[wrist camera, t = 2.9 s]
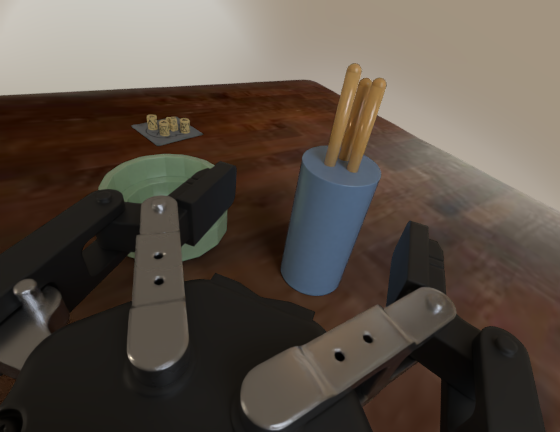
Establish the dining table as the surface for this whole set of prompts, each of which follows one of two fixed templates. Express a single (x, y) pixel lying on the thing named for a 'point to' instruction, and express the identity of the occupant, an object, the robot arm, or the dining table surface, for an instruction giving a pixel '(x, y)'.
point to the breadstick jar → (333, 192)
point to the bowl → (162, 189)
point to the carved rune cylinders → (166, 129)
